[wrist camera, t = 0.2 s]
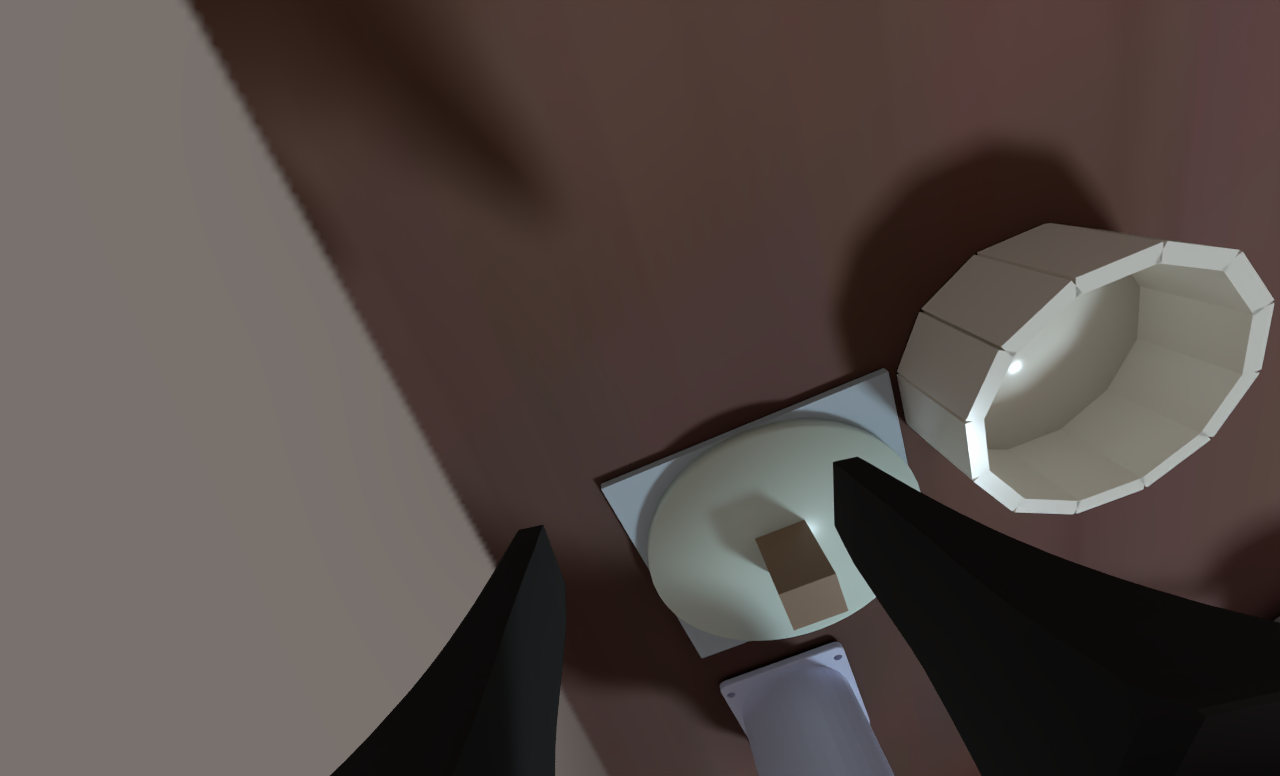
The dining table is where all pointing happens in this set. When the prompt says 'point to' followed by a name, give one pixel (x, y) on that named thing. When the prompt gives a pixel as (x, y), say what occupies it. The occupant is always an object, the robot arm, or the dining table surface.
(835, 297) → the dining table surface
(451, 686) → the robot arm
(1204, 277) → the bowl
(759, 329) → the dining table surface
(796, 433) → the lid
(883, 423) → the mat
